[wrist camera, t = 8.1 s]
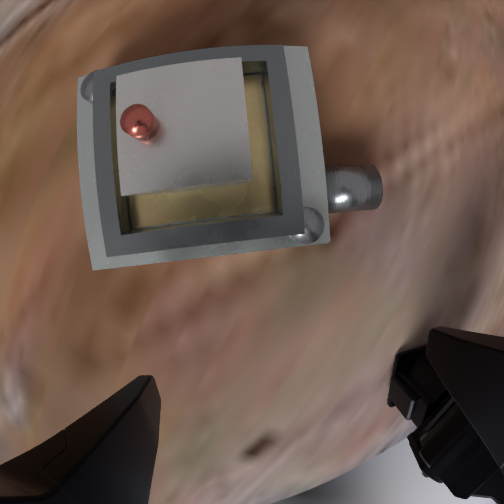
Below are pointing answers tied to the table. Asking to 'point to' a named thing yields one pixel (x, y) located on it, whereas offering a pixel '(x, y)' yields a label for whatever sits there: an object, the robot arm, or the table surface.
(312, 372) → the table surface
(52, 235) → the table surface
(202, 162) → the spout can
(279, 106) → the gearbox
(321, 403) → the table surface
